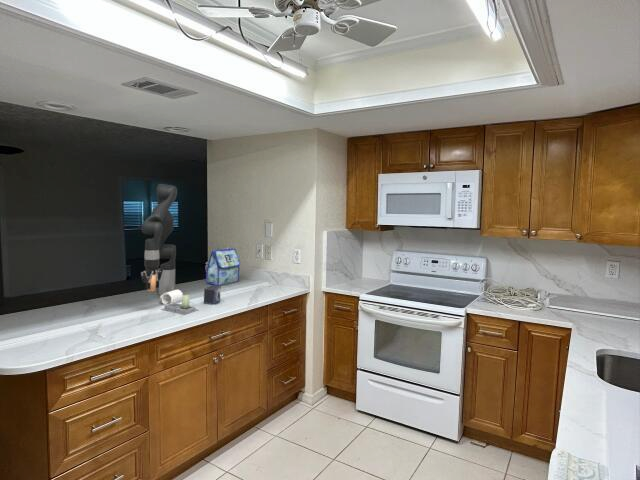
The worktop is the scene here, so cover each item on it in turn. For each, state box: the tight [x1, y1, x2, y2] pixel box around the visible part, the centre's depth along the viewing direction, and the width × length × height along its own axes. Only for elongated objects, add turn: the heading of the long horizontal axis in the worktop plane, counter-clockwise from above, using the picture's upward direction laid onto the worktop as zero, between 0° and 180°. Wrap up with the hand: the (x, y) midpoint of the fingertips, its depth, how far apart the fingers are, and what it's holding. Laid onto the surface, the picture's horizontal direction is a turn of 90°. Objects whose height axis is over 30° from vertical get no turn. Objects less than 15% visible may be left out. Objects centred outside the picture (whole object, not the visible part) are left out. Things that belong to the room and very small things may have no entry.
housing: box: [160, 302, 199, 316], centre depth 229 cm, size 18×12×3 cm, turn 65°
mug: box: [159, 289, 184, 305], centre depth 244 cm, size 12×10×8 cm
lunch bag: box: [205, 248, 241, 286], centre depth 305 cm, size 22×17×26 cm
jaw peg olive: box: [181, 294, 190, 310], centre depth 227 cm, size 4×4×9 cm
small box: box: [203, 284, 221, 306], centre depth 248 cm, size 11×6×10 cm, turn 168°
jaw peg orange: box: [147, 275, 157, 292], centre depth 222 cm, size 4×4×9 cm
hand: (151, 288), depth 222 cm, fingers closed on jaw peg orange, 4 cm apart
